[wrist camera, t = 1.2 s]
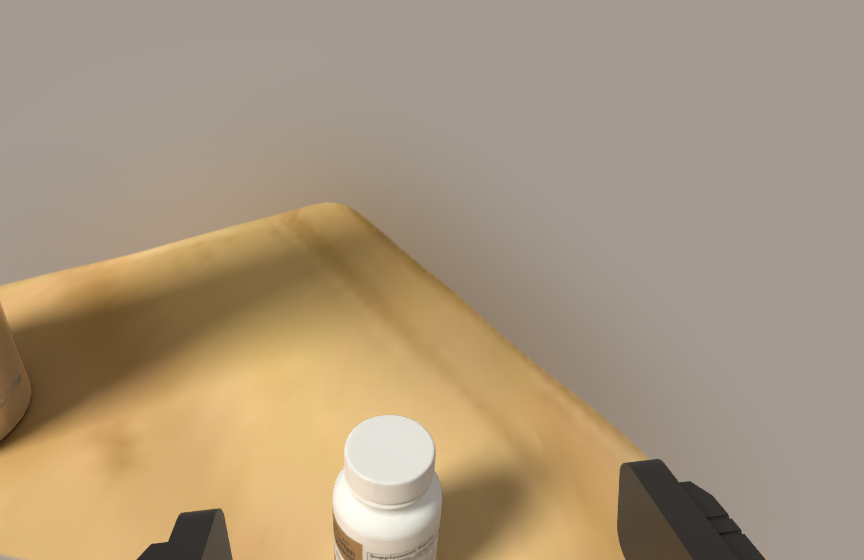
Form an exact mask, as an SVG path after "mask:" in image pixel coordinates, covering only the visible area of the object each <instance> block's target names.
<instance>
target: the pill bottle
mask: <svg viewBox="0 0 864 560" xmlns="http://www.w3.org/2000/svg"><path fill="white" fill-rule="evenodd" d="M434 468H435V445H434V441H433V439H432V437H431V435H430V433H429V432H428V431H427V430H426V429H425V428H424V427H423V426H422V425H421V424H419V423H418V422H416V421H414V420H412V419H409V418H407V417H403V416H398V415H381V416H376V417H373V418H370V419H367V420H365V421H363V422H362V423H360V424H359V425H358V426H356V427H355V428H354V429H353V430H352V432H351V433H350V434H349V436H348V438H347V440H346V443H345V449H344V468H343V469H342V471H341V472H340V474H339V475H338V477H337V479H336V482H335V485H334V489H333V525H334V527H333V528H334V552H335V554H334V556H335V560H436V555H437V545H438V537H439V528H440V519H441V511H442V488H441V483H440V481H439V478H438V476H437V474H436V472H435V471H434Z"/></svg>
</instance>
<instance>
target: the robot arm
mask: <svg viewBox="0 0 864 560" xmlns="http://www.w3.org/2000/svg"><path fill="white" fill-rule="evenodd" d="M31 393H32V391H31V385H30V380H29V378H28V375H27V372H26V370H25V367H24V364H23V362H22V359H21V357H20V354H19V351H18V349H17V346H16V343H15V341H14V338H13V335H12V333H11V330H10V326H9V324H8V321H7V319H6V316H5V313H4V311H3V308H2V306H1V303H0V440H2V439H3V438H4V437H5V436H6V435H7V434H8V433H10V432H11V431H12V429H13V428H14V427H15V426H16V425H17V423H18V422H19V421H20V420H21V418H22V417H23V415H24V413H25V411H26V409H27V408H28V406H29V403H30V398H31ZM617 530H618V537H619V542H620V546H621V549H622V552H623V555H624V557H625V559H626V560H765V558H764V557H763V556H762V555H761V554H760V552H759V551H758V550H757V549H756V547H755V546H754V545H753V544H752V543H751V541H750V540H749V539H748V538H747V537H746V535H745V534H742V533H741V529H740V528H739V527H738V526H737V524H736V523H735V522H734V521H733V520H732V519H729V515H728V514H727V512H726V511H725V510H724V509H723V507H722V506H721V505H720V504H719V503H718V501H716V499H715V498H714V497H713V496H712V495H710V494H709V493H707V492H706V491H704V490H703V489H701V488H699V487H698V486H696V485H695V484H694V483H692V482H690V481H689V482H680V483H679V482H678V481H677V479H676V478H675V477H674V476H673V474H672V473H671V471H670V470H669V469H668V468H667V466H666V465H665V464H664V463H663V461H661V460H659V459H655V460H646V461H637V462H629V463H623V464H622V465H621V468H620V477H619V498H618V519H617ZM137 560H233V559H232V554H231V549H230V543H229V538H228V533H227V528H226V522H225V517H224V514H223V511H222V510H221V509H220V508H219V509H210V510H202V511H193V512H184V513H181V514H180V515H179V516H178V518H177V521H176V523H175V526H174V528H173V531H172V533H171V536H170V539H169V541H168V542H164V543H156V544H151V545H150V546H149V547H148V548H147V549H146V550H145V551H144V552H143V553H142V555H141V556H140V557H139V558H138V559H137Z"/></svg>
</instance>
